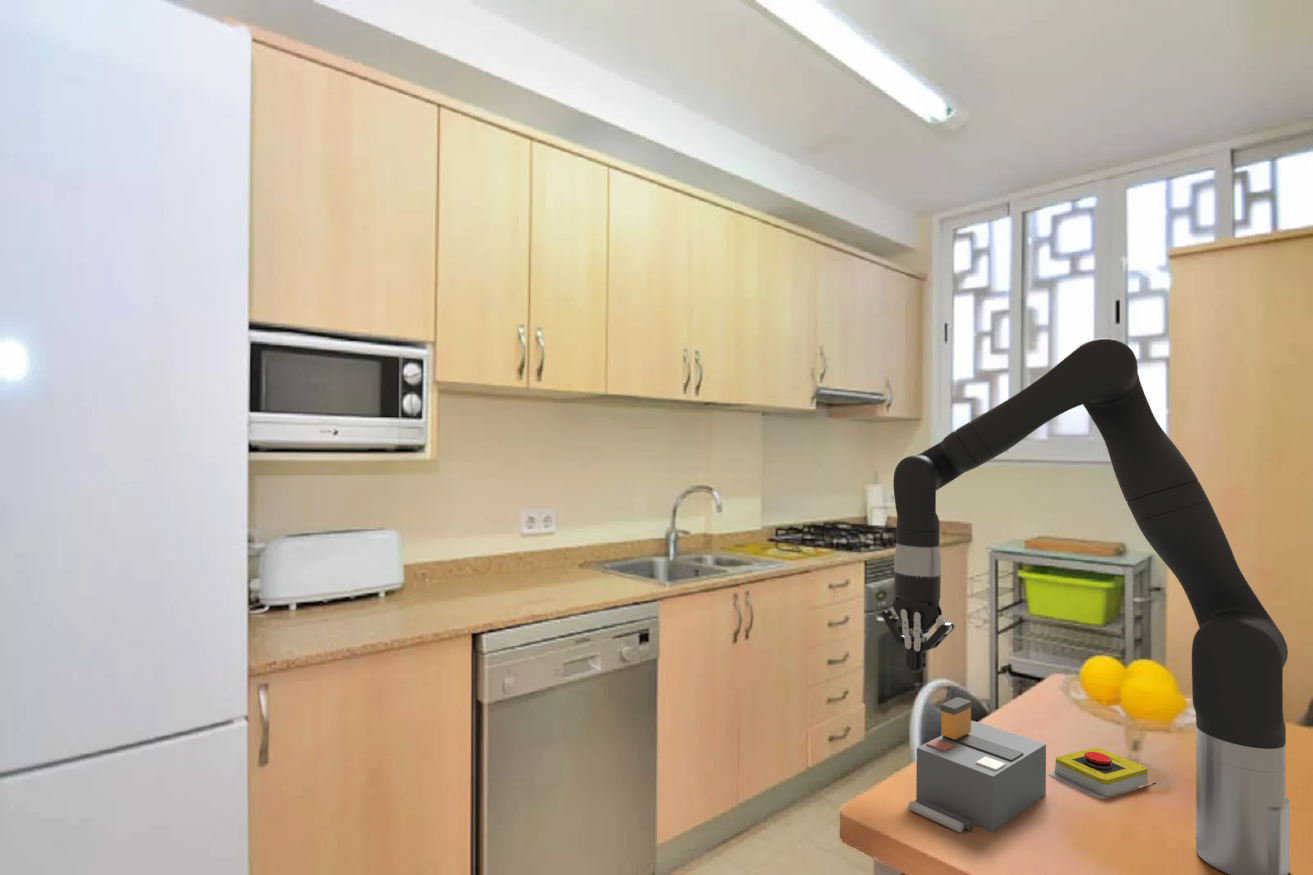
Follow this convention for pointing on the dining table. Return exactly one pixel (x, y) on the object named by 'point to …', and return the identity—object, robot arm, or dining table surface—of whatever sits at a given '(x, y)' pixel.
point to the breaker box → (982, 774)
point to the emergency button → (1099, 773)
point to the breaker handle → (956, 718)
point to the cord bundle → (941, 815)
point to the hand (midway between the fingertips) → (915, 670)
